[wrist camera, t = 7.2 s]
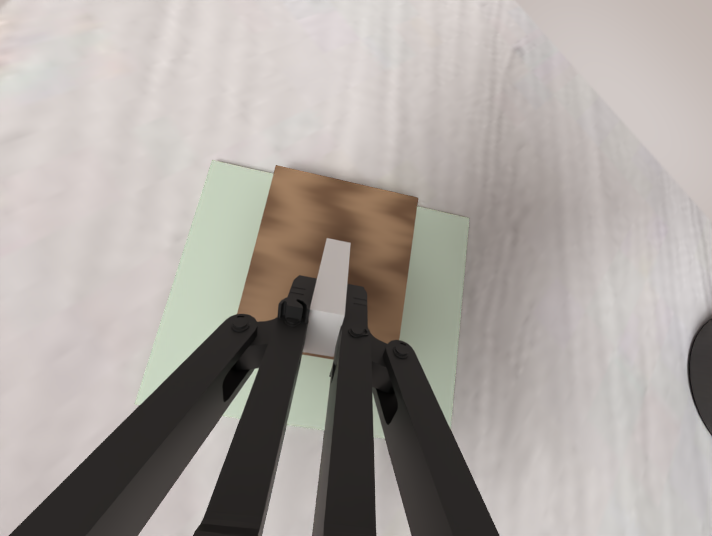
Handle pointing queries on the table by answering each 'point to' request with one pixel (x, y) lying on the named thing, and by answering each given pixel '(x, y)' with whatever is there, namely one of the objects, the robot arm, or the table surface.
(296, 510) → the table surface
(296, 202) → the board
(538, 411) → the table surface
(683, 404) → the table surface
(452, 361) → the mat
